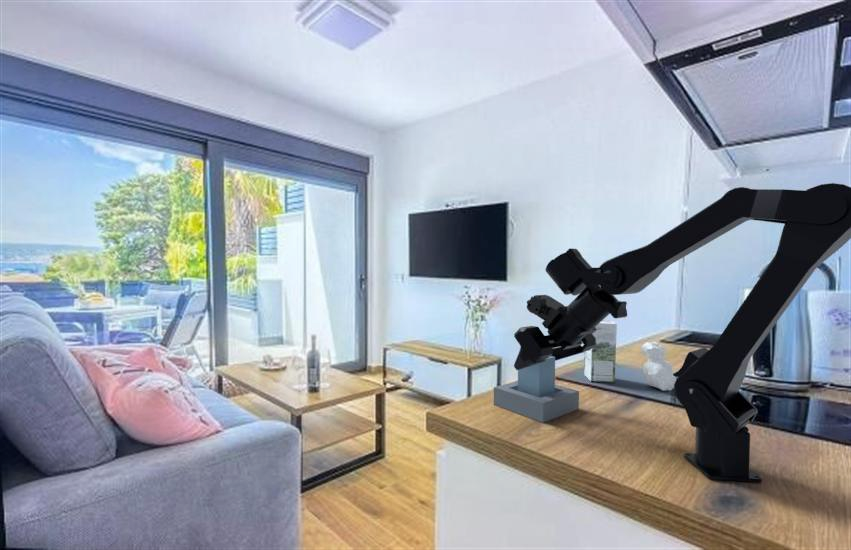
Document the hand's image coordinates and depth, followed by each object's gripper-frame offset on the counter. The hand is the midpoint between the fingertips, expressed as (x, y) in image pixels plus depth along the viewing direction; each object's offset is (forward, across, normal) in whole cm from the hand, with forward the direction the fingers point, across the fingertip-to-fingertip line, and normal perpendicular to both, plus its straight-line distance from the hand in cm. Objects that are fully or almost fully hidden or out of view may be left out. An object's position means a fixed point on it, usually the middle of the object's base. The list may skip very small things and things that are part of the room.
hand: (530, 364), depth 80 cm
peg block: (+5, 0, +7) cm, 8 cm away
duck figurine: (-1, -35, +13) cm, 37 cm away
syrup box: (+7, -29, +5) cm, 30 cm away
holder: (+5, 0, +7) cm, 8 cm away
